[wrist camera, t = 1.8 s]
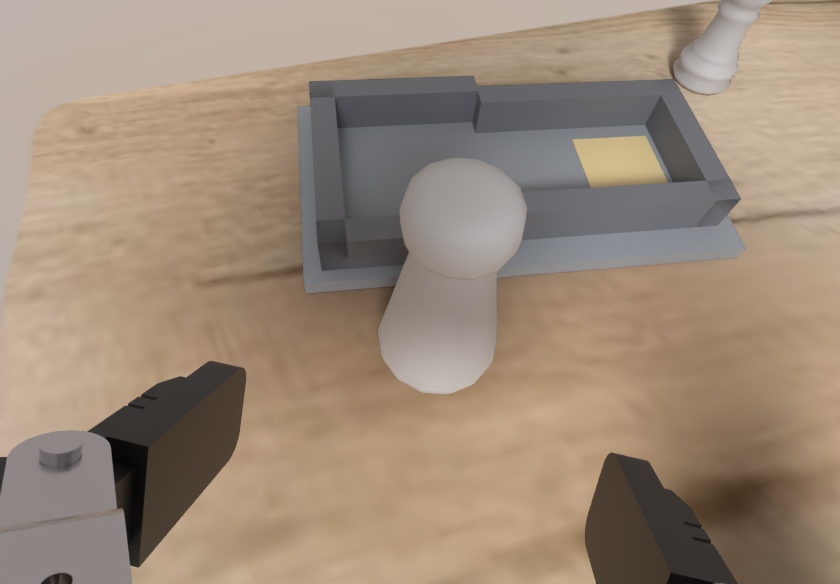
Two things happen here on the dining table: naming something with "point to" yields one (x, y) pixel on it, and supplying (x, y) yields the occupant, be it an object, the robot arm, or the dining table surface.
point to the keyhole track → (512, 173)
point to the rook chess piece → (717, 48)
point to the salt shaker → (451, 274)
